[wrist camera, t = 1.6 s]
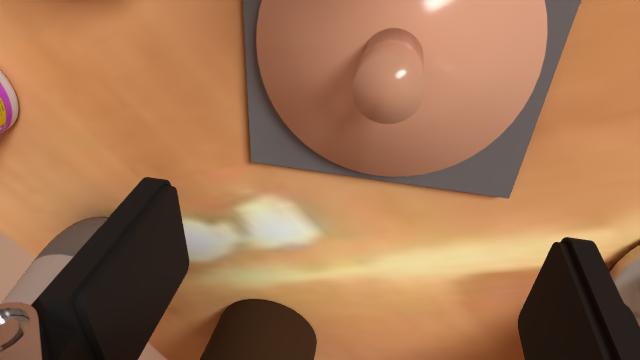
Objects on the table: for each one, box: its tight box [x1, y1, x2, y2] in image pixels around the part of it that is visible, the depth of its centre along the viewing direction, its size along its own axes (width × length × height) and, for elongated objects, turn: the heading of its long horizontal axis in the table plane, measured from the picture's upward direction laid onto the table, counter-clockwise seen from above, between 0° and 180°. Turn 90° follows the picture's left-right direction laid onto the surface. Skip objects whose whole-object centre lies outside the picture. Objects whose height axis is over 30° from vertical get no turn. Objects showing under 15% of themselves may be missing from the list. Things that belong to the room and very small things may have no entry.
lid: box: [256, 0, 547, 177], centre depth 22 cm, size 15×15×6 cm
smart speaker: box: [1, 217, 108, 305], centre depth 33 cm, size 10×9×14 cm
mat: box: [243, 0, 581, 198], centre depth 25 cm, size 17×17×1 cm
